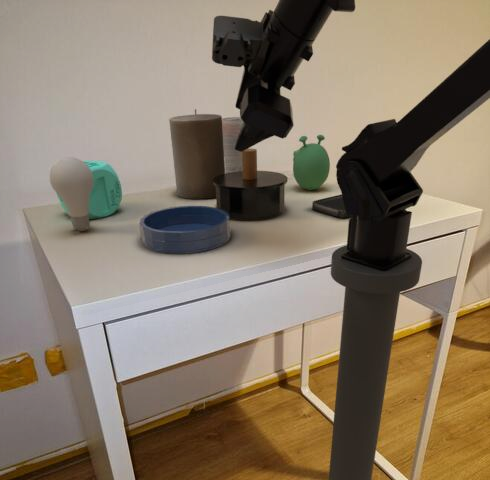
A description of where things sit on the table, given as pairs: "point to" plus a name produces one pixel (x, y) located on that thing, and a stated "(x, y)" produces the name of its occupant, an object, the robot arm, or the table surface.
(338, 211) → the phone
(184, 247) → the pan
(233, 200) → the tin
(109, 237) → the table surface
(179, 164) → the pillar candle
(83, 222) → the lightbulb
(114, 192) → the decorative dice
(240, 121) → the energy drink
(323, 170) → the alien toy
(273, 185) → the lid
